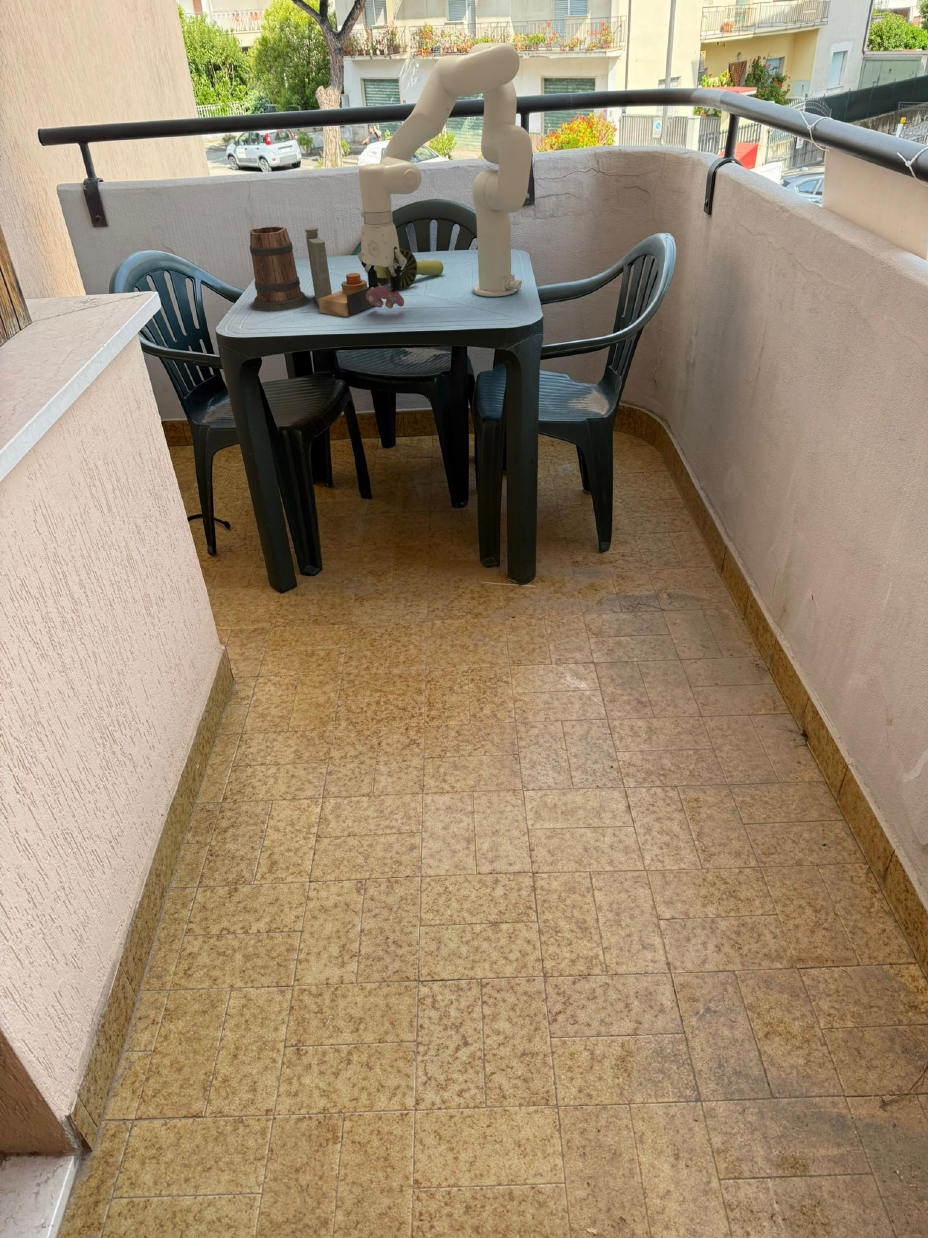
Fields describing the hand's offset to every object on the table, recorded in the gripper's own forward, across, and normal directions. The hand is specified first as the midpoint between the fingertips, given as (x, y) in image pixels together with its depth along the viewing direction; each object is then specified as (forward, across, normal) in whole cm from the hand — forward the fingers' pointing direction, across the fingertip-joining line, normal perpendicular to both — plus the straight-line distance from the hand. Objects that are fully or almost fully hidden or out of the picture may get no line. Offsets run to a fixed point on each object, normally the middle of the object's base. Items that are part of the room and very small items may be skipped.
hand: (384, 288), depth 228 cm
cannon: (+7, -16, +29) cm, 34 cm away
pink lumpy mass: (+5, 0, 0) cm, 5 cm away
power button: (+1, -15, +4) cm, 15 cm away
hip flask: (+7, -26, +1) cm, 26 cm away
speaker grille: (+7, -8, 0) cm, 11 cm away
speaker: (+7, -14, 0) cm, 15 cm away
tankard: (+7, -38, -3) cm, 39 cm away
